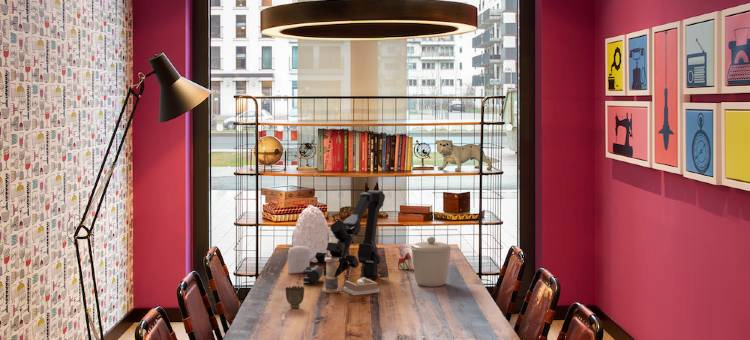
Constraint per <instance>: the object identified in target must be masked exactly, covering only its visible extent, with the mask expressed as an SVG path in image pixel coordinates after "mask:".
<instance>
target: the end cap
mask: <svg viewBox="0 0 750 340" xmlns="http://www.w3.org/2000/svg"><path fill="white" fill-rule="evenodd" d="M302 275H303V276H306V277H303V278H302V282H303V285H308V286H309V285H310V286H312V285H315V284H316V283H318V282H319V280H320V279H321V278H322V276H324V269H322V267H321V266H319V265H315V266H309V267H306V269H304V270H303V273H302Z"/></svg>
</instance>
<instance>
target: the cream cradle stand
mask: <svg viewBox="0 0 750 340" xmlns="http://www.w3.org/2000/svg"><path fill="white" fill-rule="evenodd" d="M369 279H370V278H366V279H364V284H359V285H358V284H357V283H355V282H352V281H349V280H345V281H344V286H343V292H345V293H348V294H350V295H353V296H358V295H367V294H377V293H380V292H381V291H380V288H379V283H378V282H376V281H374V280H372V279H370V280H369Z"/></svg>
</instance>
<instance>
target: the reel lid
mask: <svg viewBox="0 0 750 340" xmlns="http://www.w3.org/2000/svg"><path fill="white" fill-rule="evenodd" d="M364 279H367V278H365V277H361V278H360V279H359V278H358V279H357V280H356V284H357V285H359V284H364ZM368 279H369V280H371V279H370V278H368Z"/></svg>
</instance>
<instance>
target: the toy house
mask: <svg viewBox="0 0 750 340" xmlns="http://www.w3.org/2000/svg"><path fill="white" fill-rule="evenodd" d="M411 256H412V255H411V254H410V253H409V252H406V254H405V256H404V258H403V257H402V258H401V257H400V258H398V262H397V265H398V267H397V268H398V269H397V270H402V269H410V268H411V269H412V257H411ZM411 269H410V270H411Z"/></svg>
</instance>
